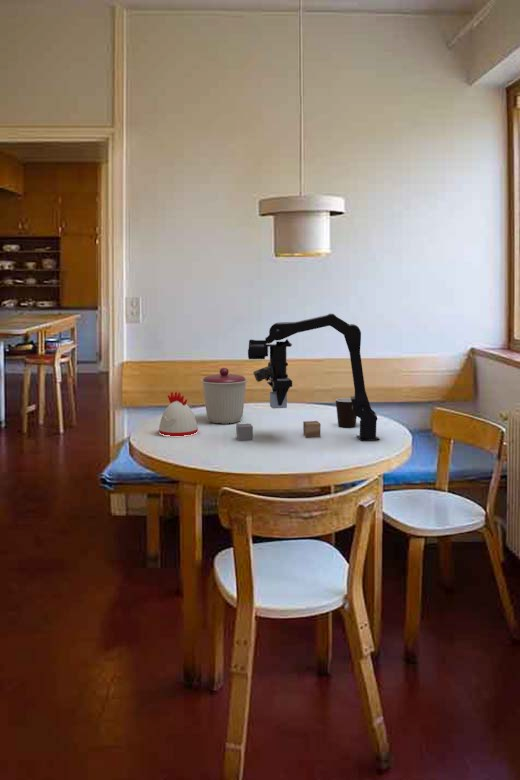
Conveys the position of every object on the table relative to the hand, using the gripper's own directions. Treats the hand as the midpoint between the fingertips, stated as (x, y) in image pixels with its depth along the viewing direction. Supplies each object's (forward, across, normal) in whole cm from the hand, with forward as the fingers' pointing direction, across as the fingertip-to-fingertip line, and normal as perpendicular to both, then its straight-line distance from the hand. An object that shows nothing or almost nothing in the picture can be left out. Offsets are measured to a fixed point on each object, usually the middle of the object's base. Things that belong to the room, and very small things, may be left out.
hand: (278, 404), depth 257 cm
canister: (+12, -32, -15) cm, 37 cm away
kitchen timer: (+12, -15, -34) cm, 39 cm away
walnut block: (+12, 0, +12) cm, 17 cm away
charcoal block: (+12, 0, -12) cm, 17 cm away
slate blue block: (+1, 0, 0) cm, 1 cm away
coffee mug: (+12, -15, +30) cm, 36 cm away
